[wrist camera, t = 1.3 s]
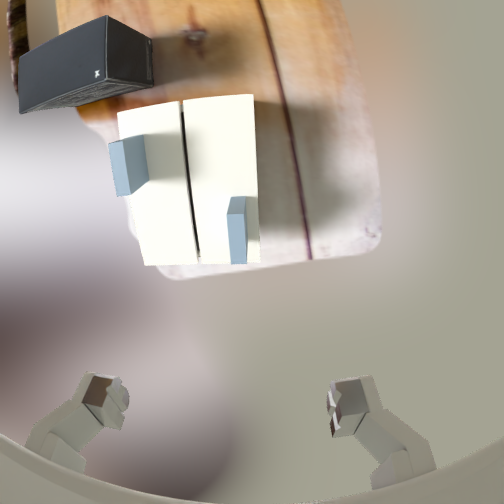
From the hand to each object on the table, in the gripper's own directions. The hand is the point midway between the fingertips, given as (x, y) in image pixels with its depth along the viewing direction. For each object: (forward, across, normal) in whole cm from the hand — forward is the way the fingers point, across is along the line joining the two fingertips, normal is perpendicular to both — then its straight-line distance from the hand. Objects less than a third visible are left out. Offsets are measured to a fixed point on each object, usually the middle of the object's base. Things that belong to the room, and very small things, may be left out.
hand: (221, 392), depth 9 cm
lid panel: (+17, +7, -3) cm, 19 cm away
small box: (+24, +14, -16) cm, 33 cm away
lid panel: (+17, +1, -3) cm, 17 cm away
